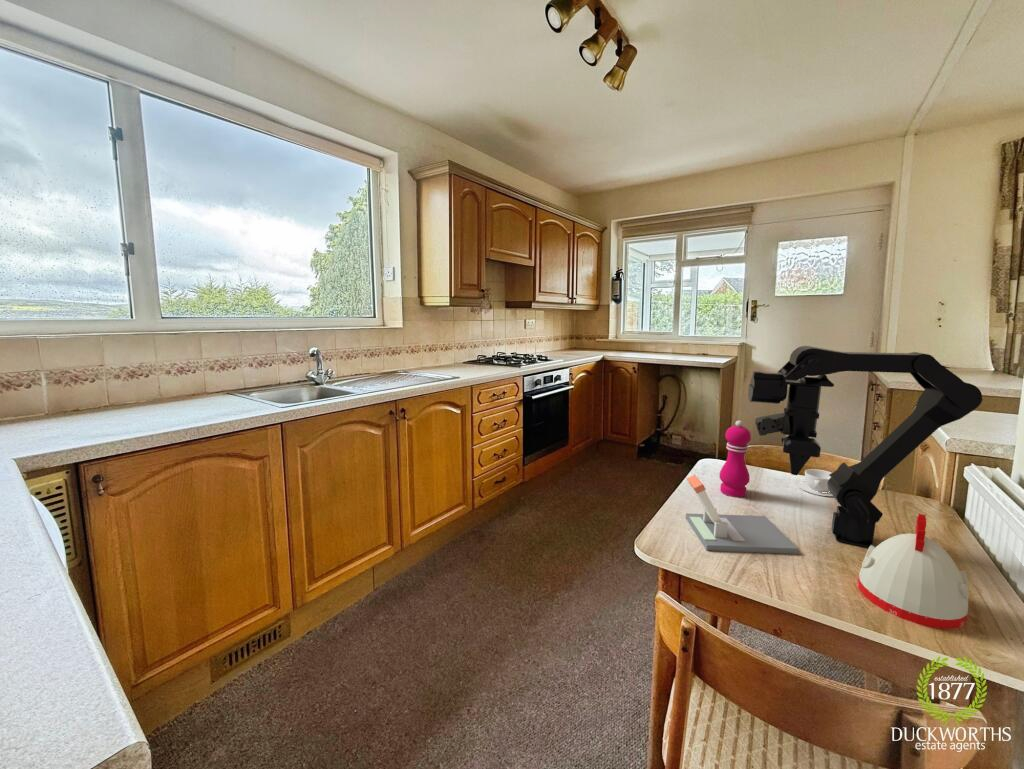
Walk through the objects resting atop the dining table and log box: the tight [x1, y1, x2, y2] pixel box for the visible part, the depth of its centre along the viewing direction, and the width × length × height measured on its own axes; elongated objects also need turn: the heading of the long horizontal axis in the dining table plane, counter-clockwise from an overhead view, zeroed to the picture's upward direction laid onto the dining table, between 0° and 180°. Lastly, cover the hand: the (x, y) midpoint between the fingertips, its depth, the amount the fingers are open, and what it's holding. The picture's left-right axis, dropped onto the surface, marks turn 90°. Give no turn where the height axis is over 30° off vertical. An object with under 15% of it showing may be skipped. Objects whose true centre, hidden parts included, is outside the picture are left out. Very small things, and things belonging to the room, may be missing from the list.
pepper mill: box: [718, 420, 752, 498], centre depth 117 cm, size 7×7×20 cm
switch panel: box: [685, 508, 799, 555], centre depth 96 cm, size 18×14×4 cm
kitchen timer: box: [857, 513, 970, 630], centre depth 74 cm, size 14×14×15 cm
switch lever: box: [686, 474, 722, 524], centre depth 96 cm, size 2×5×10 cm, turn 173°
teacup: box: [797, 468, 833, 497], centre depth 120 cm, size 10×10×5 cm
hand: (794, 474), depth 97 cm, fingers closed
